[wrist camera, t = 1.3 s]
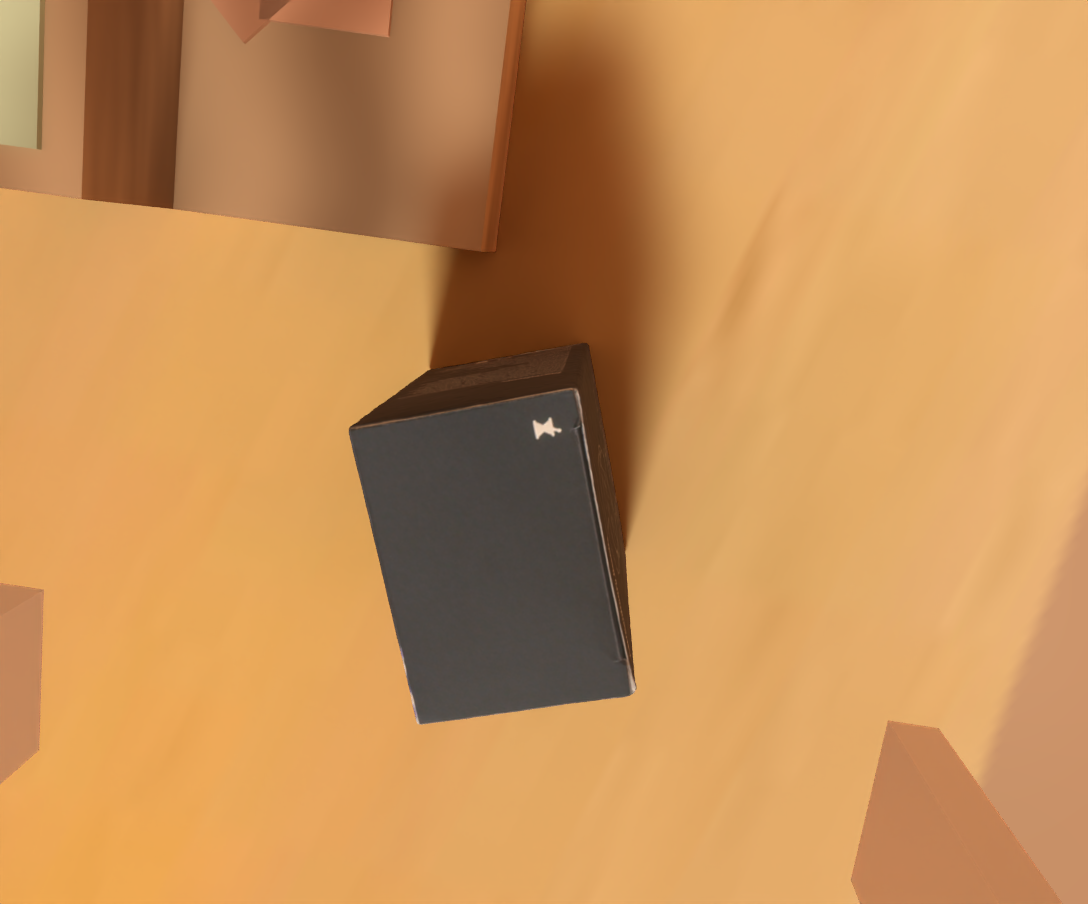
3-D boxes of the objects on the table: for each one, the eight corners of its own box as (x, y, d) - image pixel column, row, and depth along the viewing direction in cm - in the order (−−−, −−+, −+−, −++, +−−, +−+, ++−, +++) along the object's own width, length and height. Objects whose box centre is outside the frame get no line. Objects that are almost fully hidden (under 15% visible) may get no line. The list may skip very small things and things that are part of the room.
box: (424, 369, 32) (341, 423, 22) (589, 339, 32) (584, 380, 21) (469, 587, 34) (412, 734, 23) (628, 562, 33) (642, 701, 23)
